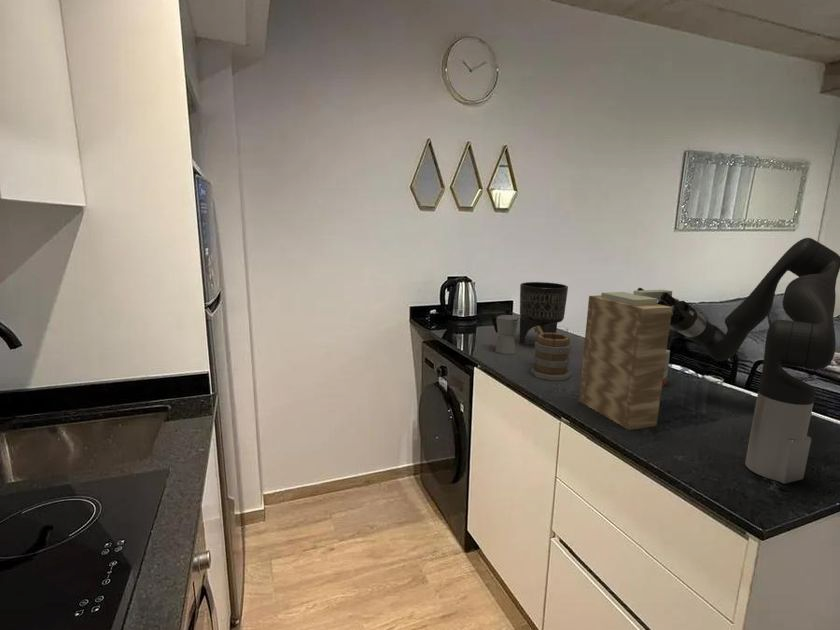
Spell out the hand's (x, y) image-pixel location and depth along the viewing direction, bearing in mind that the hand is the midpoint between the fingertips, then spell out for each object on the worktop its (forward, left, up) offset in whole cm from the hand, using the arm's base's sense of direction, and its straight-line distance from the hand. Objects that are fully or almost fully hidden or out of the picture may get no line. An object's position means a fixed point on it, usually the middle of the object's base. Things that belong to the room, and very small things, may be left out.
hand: (650, 292), depth 123 cm
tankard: (+37, +5, -34) cm, 51 cm away
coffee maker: (+64, +7, -34) cm, 73 cm away
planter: (+68, -13, -34) cm, 77 cm away
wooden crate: (0, +7, -34) cm, 35 cm away
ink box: (+17, -23, -34) cm, 45 cm away
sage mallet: (0, +2, -2) cm, 3 cm away
